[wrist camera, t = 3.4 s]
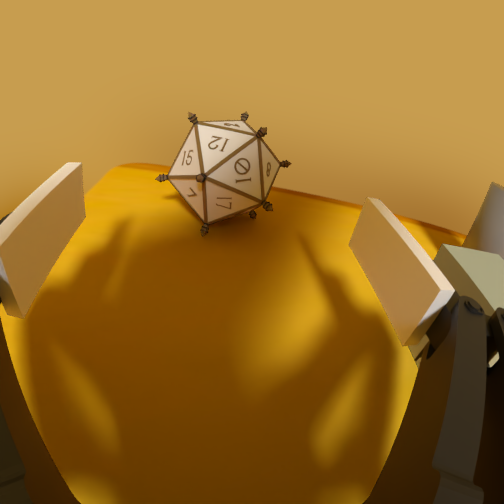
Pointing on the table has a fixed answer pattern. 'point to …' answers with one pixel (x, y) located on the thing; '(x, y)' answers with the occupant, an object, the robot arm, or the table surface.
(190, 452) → the table surface
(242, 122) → the game die
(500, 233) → the gray cylinder
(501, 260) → the olive block
